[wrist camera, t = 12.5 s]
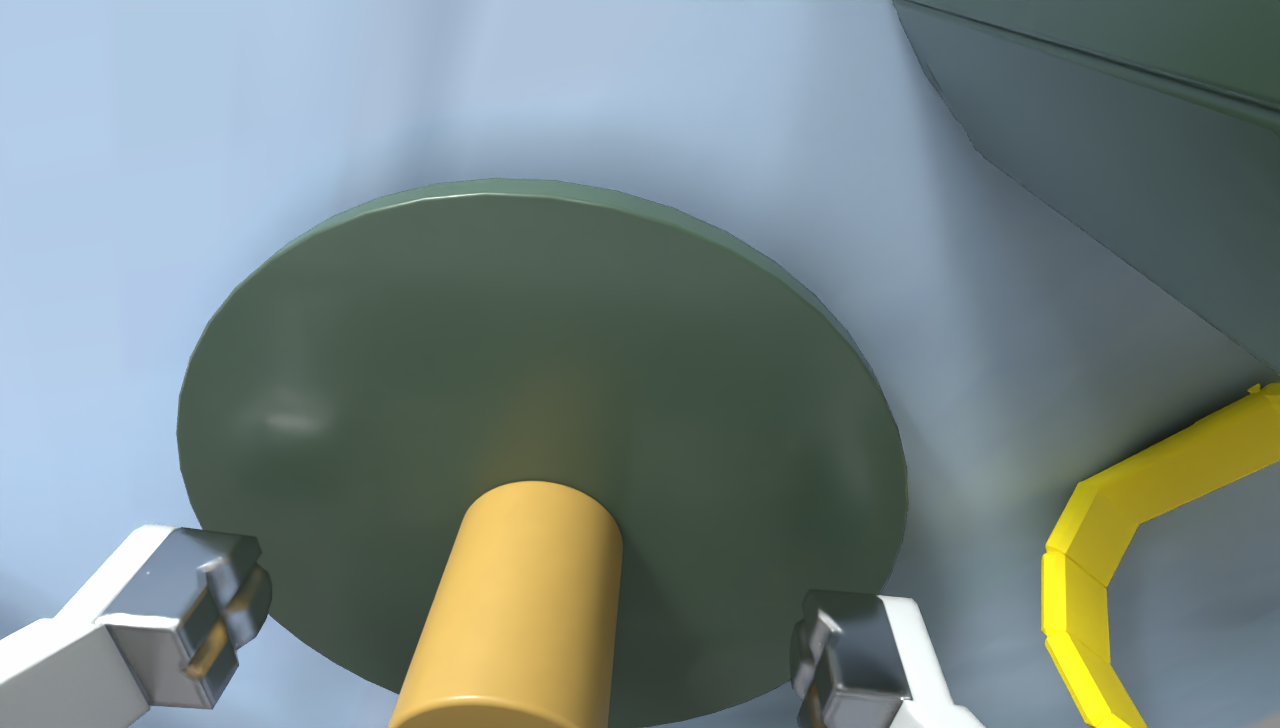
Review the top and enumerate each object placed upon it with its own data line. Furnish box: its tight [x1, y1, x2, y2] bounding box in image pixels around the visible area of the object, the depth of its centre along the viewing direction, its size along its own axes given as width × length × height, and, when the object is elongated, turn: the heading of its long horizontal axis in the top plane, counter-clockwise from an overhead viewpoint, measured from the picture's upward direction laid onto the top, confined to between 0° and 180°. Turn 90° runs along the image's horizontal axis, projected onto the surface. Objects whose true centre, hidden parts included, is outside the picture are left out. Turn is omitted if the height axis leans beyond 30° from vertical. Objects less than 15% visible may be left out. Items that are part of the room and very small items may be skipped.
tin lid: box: [176, 178, 908, 728], centre depth 10 cm, size 11×11×5 cm
